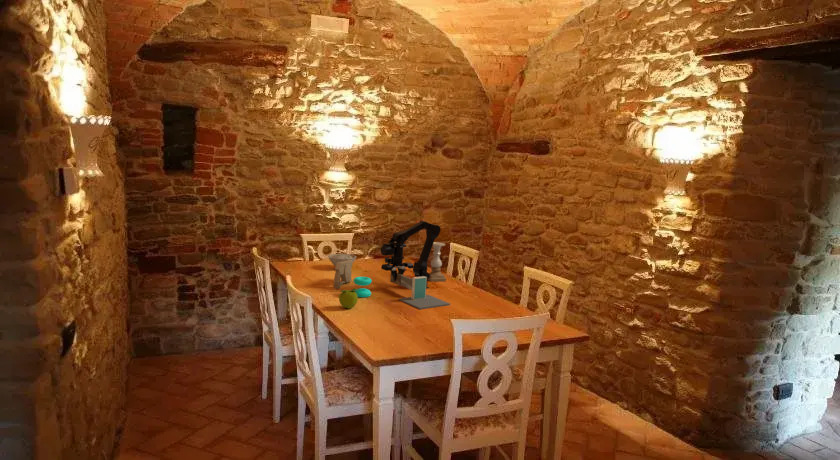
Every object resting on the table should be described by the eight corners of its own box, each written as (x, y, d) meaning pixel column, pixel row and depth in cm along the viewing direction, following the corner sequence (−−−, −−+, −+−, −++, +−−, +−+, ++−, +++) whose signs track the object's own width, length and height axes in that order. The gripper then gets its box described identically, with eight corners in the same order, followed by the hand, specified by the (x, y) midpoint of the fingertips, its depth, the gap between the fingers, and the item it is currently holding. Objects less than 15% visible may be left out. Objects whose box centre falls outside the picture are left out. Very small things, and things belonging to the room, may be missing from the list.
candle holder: (440, 277, 350) (442, 241, 347) (446, 281, 340) (448, 244, 337) (424, 277, 347) (426, 241, 344) (430, 281, 336) (432, 244, 333)
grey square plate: (428, 296, 301) (428, 294, 301) (450, 305, 285) (450, 303, 285) (398, 299, 289) (398, 298, 289) (419, 309, 273) (419, 307, 273)
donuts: (353, 275, 297) (371, 276, 298) (352, 293, 298) (370, 293, 300) (354, 280, 287) (372, 280, 289) (353, 298, 288) (371, 298, 290)
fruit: (358, 310, 266) (359, 290, 265) (340, 310, 264) (340, 291, 262) (355, 305, 275) (356, 286, 274) (337, 305, 272) (338, 286, 271)
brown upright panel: (393, 281, 314) (394, 271, 313) (414, 289, 296) (415, 279, 295) (390, 281, 312) (390, 271, 311) (411, 290, 295) (411, 279, 294)
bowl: (328, 265, 368) (328, 251, 366) (356, 266, 370) (356, 252, 369) (326, 271, 349) (327, 256, 347) (356, 272, 351) (356, 257, 350)
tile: (423, 297, 294) (424, 276, 293) (425, 298, 293) (426, 277, 291) (411, 298, 290) (412, 277, 288) (413, 299, 288) (414, 278, 286)
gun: (338, 289, 304) (339, 263, 303) (332, 289, 305) (334, 263, 304) (351, 284, 328) (353, 260, 327) (346, 283, 329) (348, 259, 328)
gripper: (403, 251, 318) (402, 276, 321) (377, 253, 308) (375, 279, 310) (414, 254, 310) (412, 280, 312) (387, 256, 299) (385, 283, 301)
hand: (396, 280), depth 309 cm, fingers closed on brown upright panel, 2 cm apart
